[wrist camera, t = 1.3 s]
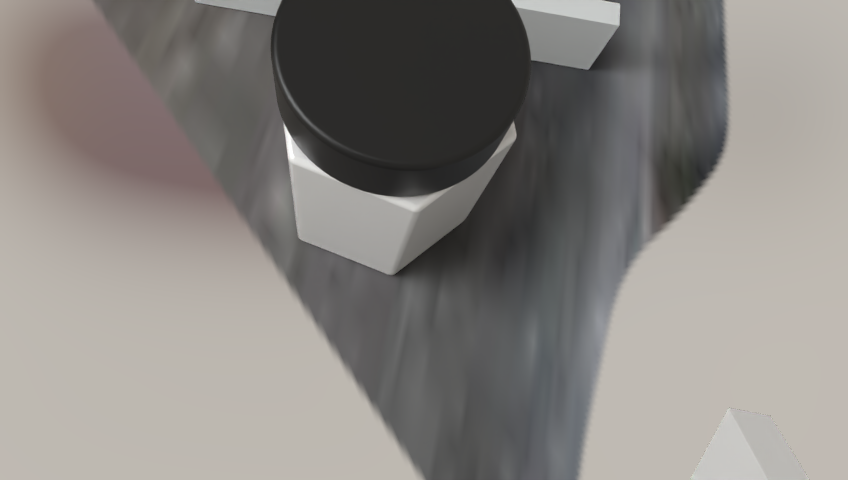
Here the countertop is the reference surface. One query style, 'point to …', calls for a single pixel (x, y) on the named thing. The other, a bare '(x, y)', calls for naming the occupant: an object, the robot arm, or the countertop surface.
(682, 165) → the countertop surface
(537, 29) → the acrylic wall
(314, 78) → the jar
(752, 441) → the robot arm
